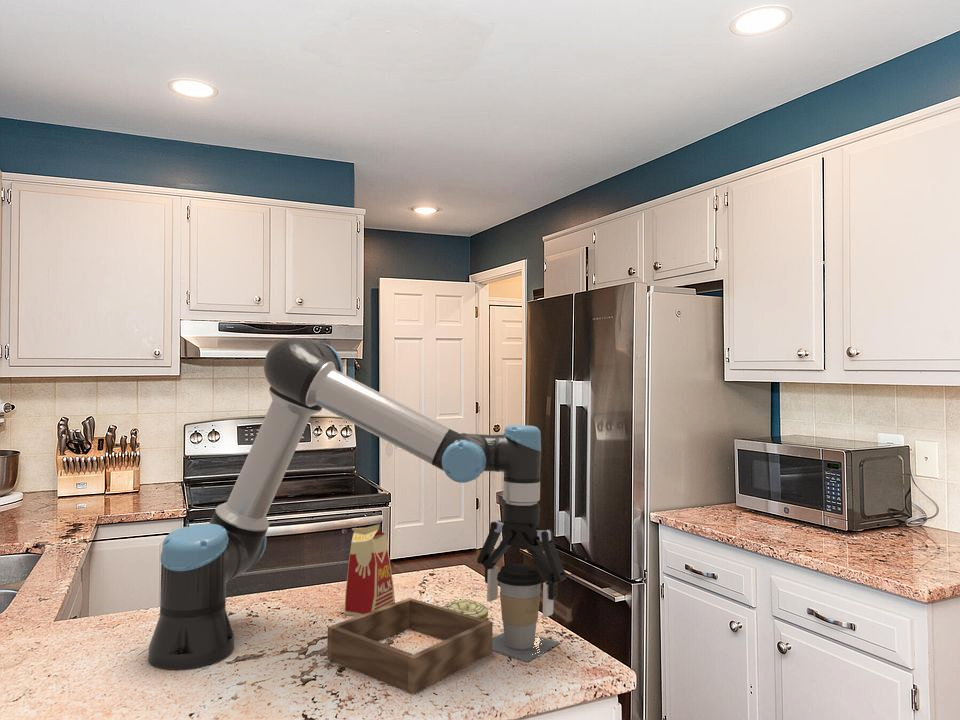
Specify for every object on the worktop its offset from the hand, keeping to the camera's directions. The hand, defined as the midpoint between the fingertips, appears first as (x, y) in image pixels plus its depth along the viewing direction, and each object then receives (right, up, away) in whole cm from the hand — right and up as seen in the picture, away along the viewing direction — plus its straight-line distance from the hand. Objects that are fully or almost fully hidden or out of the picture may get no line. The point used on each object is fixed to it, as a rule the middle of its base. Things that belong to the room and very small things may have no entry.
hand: (519, 607), depth 136 cm
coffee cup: (0, -8, 0) cm, 8 cm away
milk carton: (-34, -8, +18) cm, 39 cm away
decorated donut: (-12, -8, +12) cm, 19 cm away
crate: (-21, -7, -7) cm, 23 cm away
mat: (0, -8, 0) cm, 8 cm away
